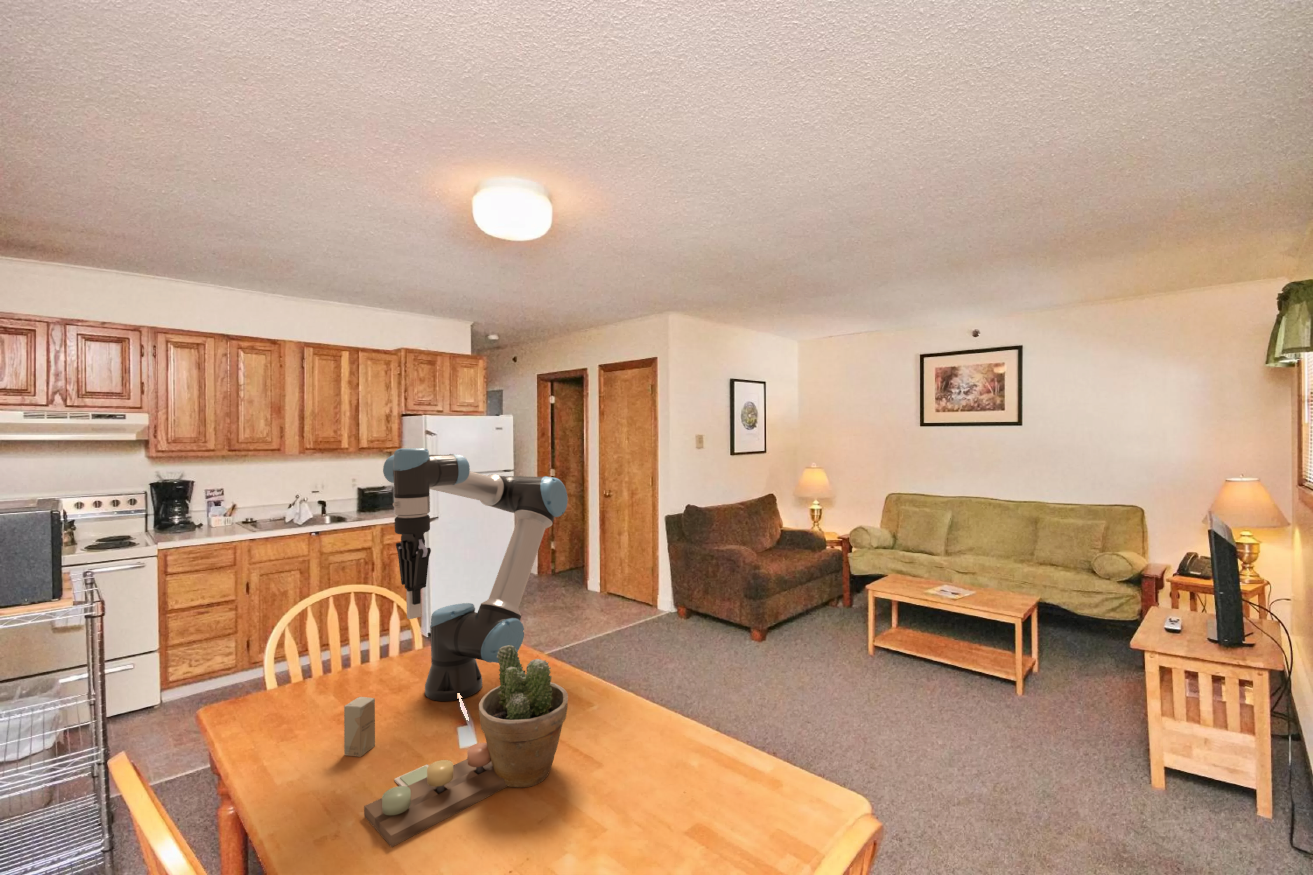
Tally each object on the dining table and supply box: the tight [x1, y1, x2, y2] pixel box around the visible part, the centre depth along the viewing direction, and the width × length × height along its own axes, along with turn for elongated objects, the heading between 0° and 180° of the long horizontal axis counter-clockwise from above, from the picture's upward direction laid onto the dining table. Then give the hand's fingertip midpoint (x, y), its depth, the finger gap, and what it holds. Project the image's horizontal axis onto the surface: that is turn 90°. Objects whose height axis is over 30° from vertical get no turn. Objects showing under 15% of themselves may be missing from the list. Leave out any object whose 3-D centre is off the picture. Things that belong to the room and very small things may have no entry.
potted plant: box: [478, 645, 569, 788], centre depth 122 cm, size 18×19×25 cm
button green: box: [381, 785, 411, 816], centre depth 108 cm, size 5×5×5 cm
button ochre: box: [427, 759, 454, 792], centre depth 114 cm, size 5×5×5 cm
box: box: [343, 696, 376, 757], centre depth 132 cm, size 5×4×11 cm
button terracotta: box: [466, 742, 491, 773], centre depth 120 cm, size 5×5×5 cm
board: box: [363, 758, 508, 848], centre depth 114 cm, size 24×12×2 cm, turn 137°
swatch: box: [394, 763, 430, 787], centre depth 120 cm, size 7×7×1 cm
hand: (414, 617), depth 134 cm, fingers closed
